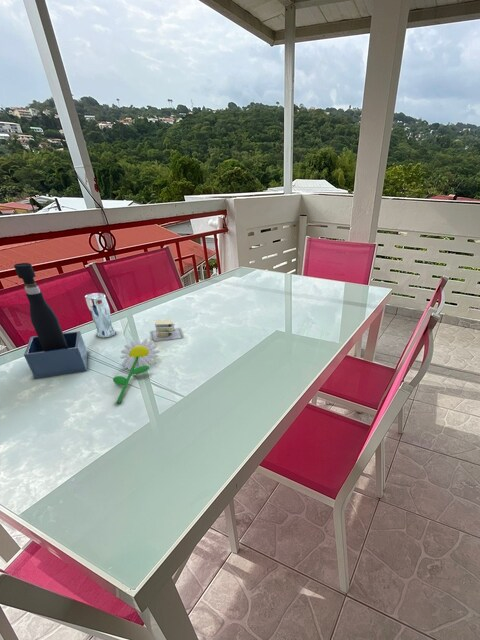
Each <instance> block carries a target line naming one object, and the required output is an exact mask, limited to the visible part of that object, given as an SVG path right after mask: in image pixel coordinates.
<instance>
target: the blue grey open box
mask: <svg viewBox="0 0 480 640" xmlns="http://www.w3.org/2000/svg"><path fill="white" fill-rule="evenodd" d="M63 335H64V337H65V340H66V343H67V345H68V348H66V349H59V350H51V351H44V350H43V347H42V345H41V343H40V340H39V338H38V336H37V335H34V336H30V338H29V341H28V343H27V346H26V348H25V351H24V353H23V356H24V359H25V361H26V363H27V365H28V368H29V369H30V371H31V373H32V376H33V378H34V379H41V378H48V377H49V378H50V377H55V376H61V375H67V374H74V373H80V372H86V371H87V367H88V366H87V365H88V349H87V347H86V344H85V342H84V338H83V336H82V333H81V330H79V331H69V332H63Z"/></svg>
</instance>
